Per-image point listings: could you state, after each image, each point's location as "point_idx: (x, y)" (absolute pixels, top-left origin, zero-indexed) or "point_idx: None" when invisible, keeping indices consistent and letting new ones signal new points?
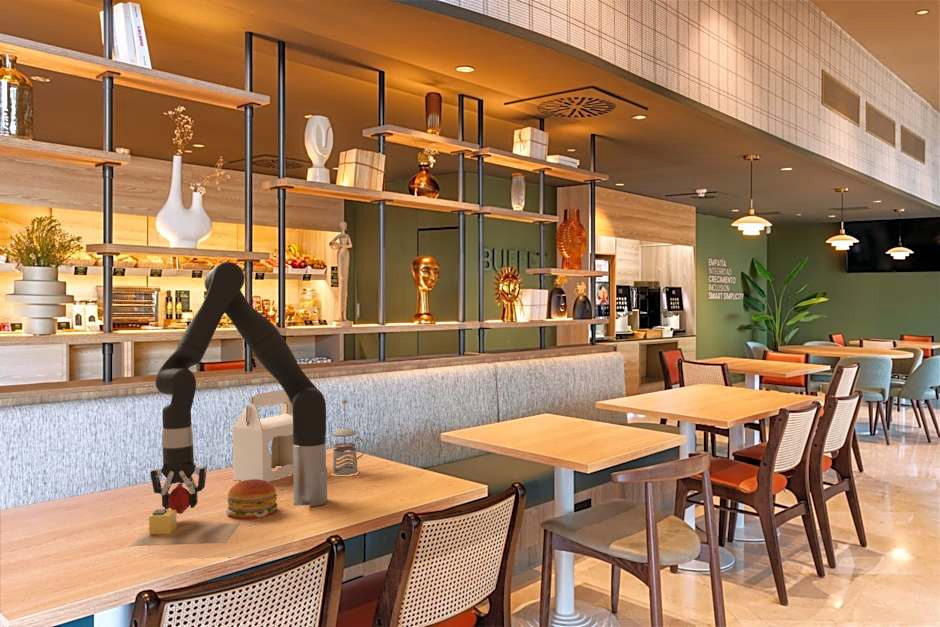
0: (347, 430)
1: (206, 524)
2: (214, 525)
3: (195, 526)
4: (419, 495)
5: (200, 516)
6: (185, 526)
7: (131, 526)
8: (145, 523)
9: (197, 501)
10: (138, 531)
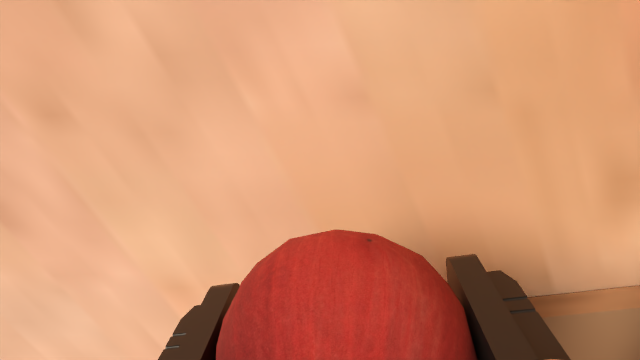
0: None
1: (562, 317)
2: (621, 333)
3: None
4: None
5: (407, 18)
6: None
7: (58, 264)
8: (98, 208)
9: (520, 290)
10: (164, 337)
